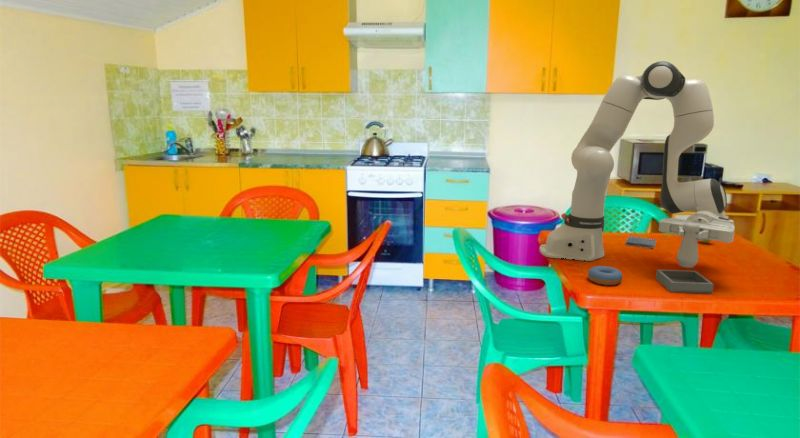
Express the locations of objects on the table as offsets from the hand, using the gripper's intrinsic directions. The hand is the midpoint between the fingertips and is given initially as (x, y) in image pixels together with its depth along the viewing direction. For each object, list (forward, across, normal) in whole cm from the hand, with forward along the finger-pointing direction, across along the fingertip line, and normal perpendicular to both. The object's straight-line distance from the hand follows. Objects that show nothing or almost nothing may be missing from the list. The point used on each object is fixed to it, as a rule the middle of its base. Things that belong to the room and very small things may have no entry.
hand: (689, 234), depth 158 cm
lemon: (-57, -7, +17) cm, 60 cm away
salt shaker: (-1, 0, +10) cm, 10 cm away
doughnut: (+11, -20, +16) cm, 28 cm away
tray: (-1, 0, +16) cm, 16 cm away
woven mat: (-40, -25, +17) cm, 50 cm away
